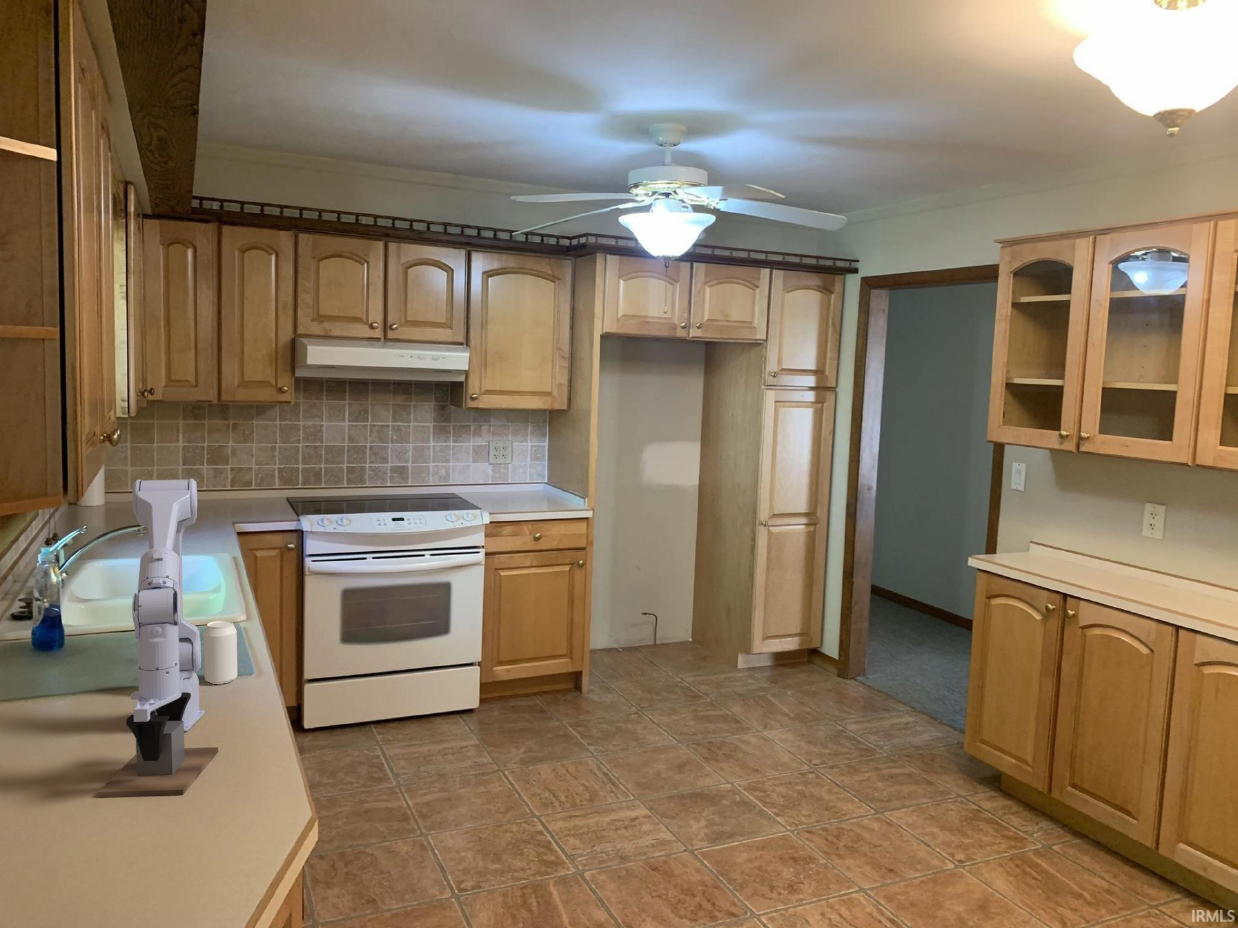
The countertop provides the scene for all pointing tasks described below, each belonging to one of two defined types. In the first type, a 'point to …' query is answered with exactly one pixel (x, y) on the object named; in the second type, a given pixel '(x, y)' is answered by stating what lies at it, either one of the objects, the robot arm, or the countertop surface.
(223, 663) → the beverage can
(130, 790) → the flat brown plate
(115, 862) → the countertop surface
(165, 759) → the gray rectangular prism
